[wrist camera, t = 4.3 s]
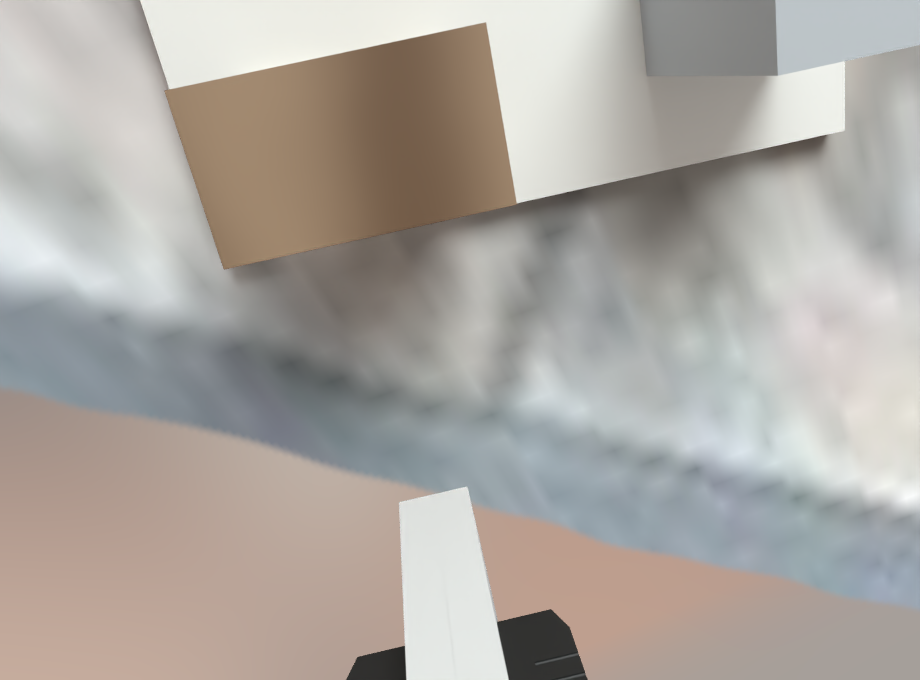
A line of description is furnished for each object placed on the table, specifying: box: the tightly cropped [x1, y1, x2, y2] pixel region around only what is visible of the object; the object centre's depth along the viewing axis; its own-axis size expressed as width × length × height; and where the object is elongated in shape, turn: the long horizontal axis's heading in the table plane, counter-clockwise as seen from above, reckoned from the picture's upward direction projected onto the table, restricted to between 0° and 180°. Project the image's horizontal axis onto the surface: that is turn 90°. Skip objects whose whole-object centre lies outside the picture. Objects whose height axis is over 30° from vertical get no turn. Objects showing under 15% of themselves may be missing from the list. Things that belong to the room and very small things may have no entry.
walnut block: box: [165, 22, 517, 269], centre depth 21 cm, size 7×4×10 cm, turn 101°
